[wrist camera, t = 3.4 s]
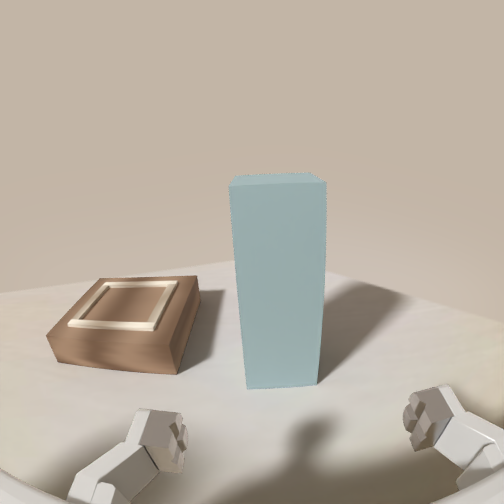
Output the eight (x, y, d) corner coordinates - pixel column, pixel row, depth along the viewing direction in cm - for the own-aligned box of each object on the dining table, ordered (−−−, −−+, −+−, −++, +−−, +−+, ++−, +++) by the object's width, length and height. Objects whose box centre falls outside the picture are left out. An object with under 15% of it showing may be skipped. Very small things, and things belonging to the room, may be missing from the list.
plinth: (200, 300, 33) (196, 273, 32) (176, 374, 22) (167, 341, 20) (106, 300, 33) (99, 276, 32) (58, 361, 22) (44, 332, 21)
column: (307, 343, 25) (309, 172, 20) (316, 384, 20) (326, 182, 15) (248, 347, 25) (235, 175, 20) (247, 389, 20) (228, 186, 15)
